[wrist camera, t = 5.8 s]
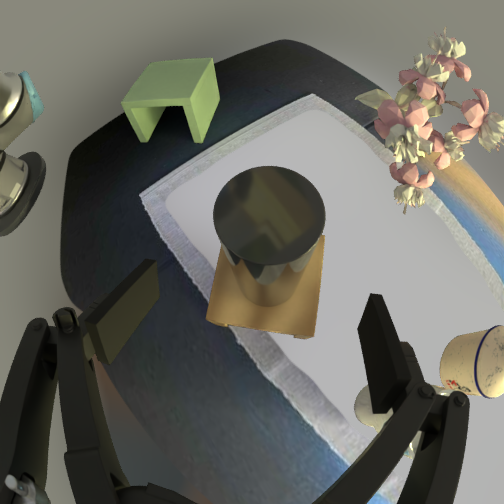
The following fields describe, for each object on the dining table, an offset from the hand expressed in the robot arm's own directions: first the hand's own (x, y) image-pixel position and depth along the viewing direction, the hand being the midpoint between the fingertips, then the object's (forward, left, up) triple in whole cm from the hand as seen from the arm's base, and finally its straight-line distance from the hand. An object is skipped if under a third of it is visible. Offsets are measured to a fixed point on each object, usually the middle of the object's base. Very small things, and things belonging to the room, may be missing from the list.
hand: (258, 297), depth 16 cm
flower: (+20, +26, -18) cm, 37 cm away
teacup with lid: (+31, -4, -18) cm, 36 cm away
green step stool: (-20, +32, -18) cm, 42 cm away
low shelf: (0, +4, -18) cm, 18 cm away
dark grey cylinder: (0, +4, -12) cm, 12 cm away
